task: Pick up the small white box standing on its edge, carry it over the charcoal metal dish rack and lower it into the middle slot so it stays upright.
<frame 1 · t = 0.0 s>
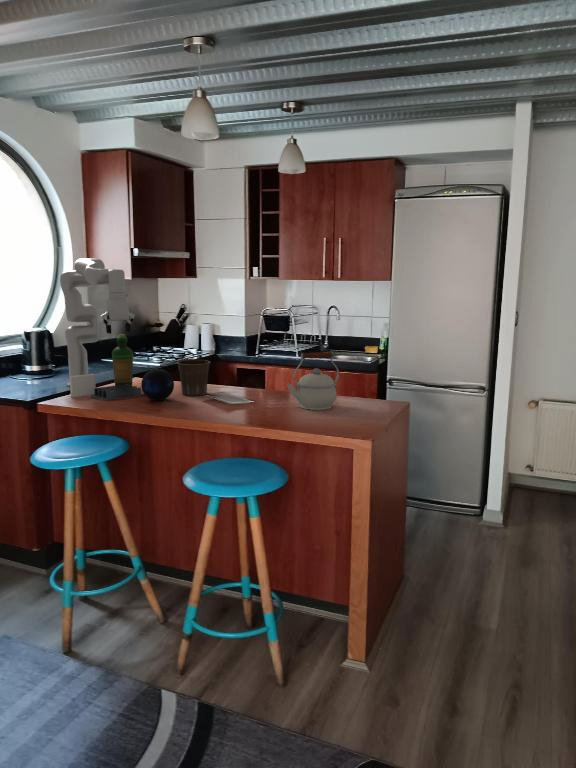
hand: (118, 332, 295), 31 cm above the countertop, tool pointing down, fingers open, 9 cm apart
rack: (117, 395, 305), on the countertop
decorative sphere: (158, 400, 295), on the countertop
plant pot: (194, 394, 312), on the countertop
small white box: (83, 395, 305), on the countertop
kettle: (312, 407, 283), on the countertop
bottle: (123, 388, 325), on the countertop
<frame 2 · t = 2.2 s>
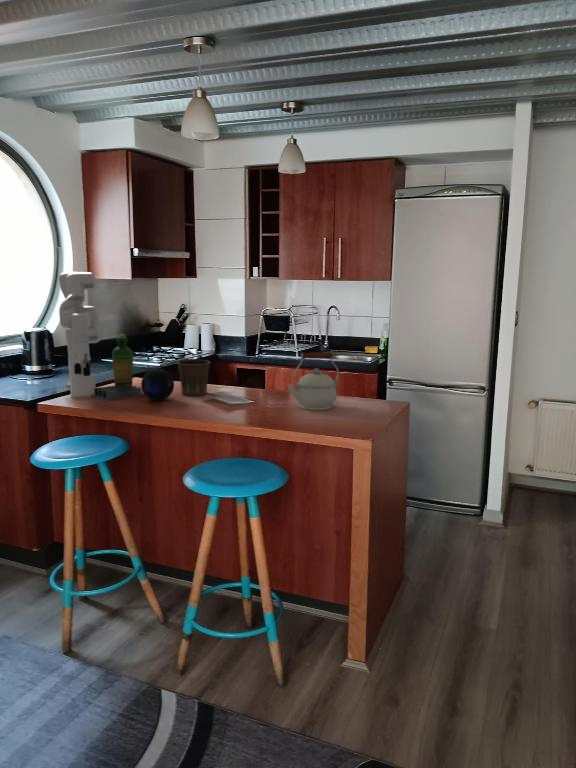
hand: (82, 374, 303), 10 cm above the countertop, tool pointing down, fingers open, 9 cm apart
nothing on the countertop moved.
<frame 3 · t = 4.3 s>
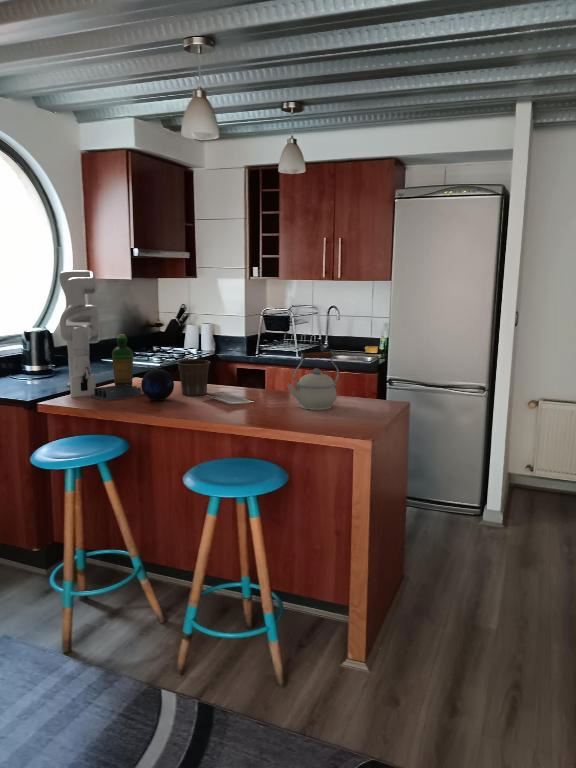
hand: (83, 389, 305), 3 cm above the countertop, tool pointing down, fingers closed on small white box, 1 cm apart
small white box: (83, 395, 305), on the countertop, touching gripper
everything else where it was.
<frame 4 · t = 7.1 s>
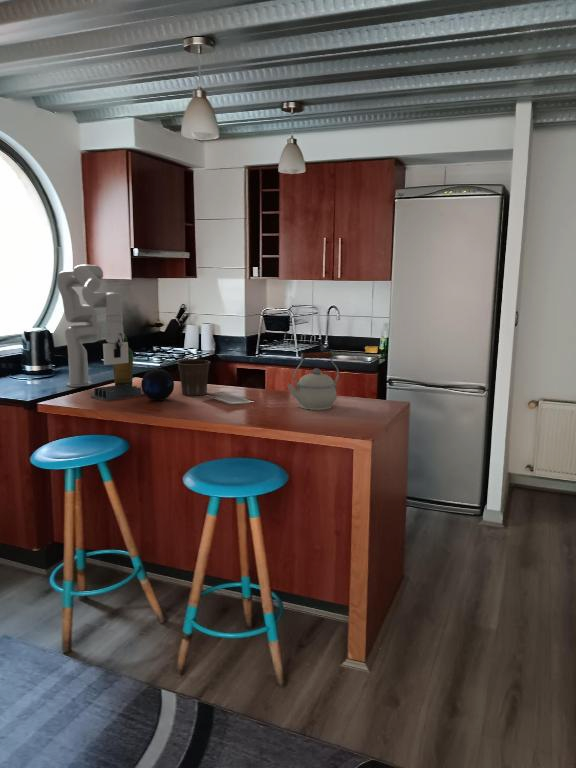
hand: (116, 356, 302), 19 cm above the countertop, tool pointing down, fingers closed on small white box
small white box: (116, 363, 302), point 16 cm above the countertop, touching gripper
everything else where it was.
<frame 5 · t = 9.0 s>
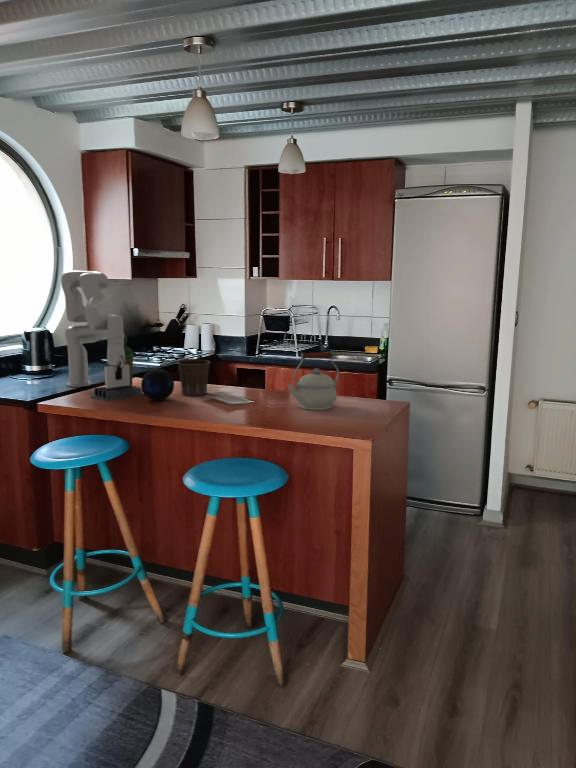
hand: (117, 378, 303), 8 cm above the countertop, tool pointing down, fingers closed on small white box
small white box: (117, 386, 304), point 5 cm above the countertop, touching gripper
everything else where it was.
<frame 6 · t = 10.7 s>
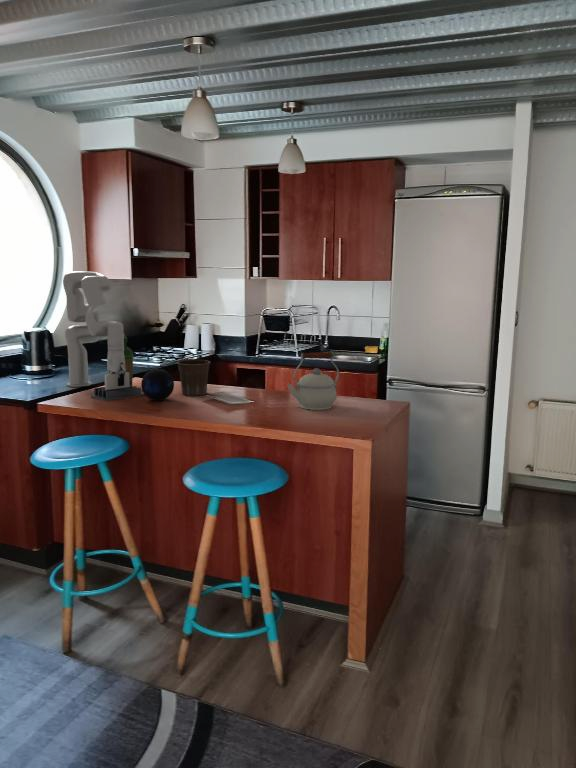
hand: (117, 384, 304), 6 cm above the countertop, tool pointing down, fingers open, 6 cm apart
small white box: (117, 393, 305), point 1 cm above the countertop, touching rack
everything else where it was.
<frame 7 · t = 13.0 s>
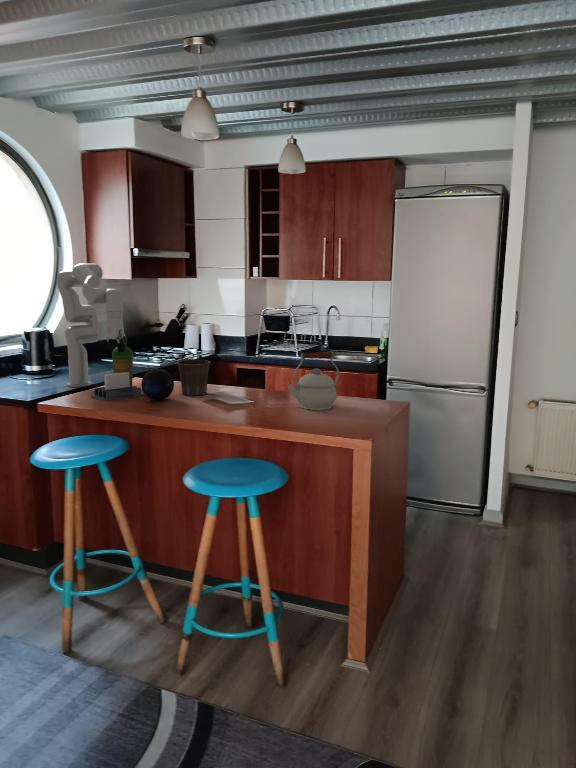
hand: (116, 350, 301), 22 cm above the countertop, tool pointing down, fingers open, 9 cm apart
nothing on the countertop moved.
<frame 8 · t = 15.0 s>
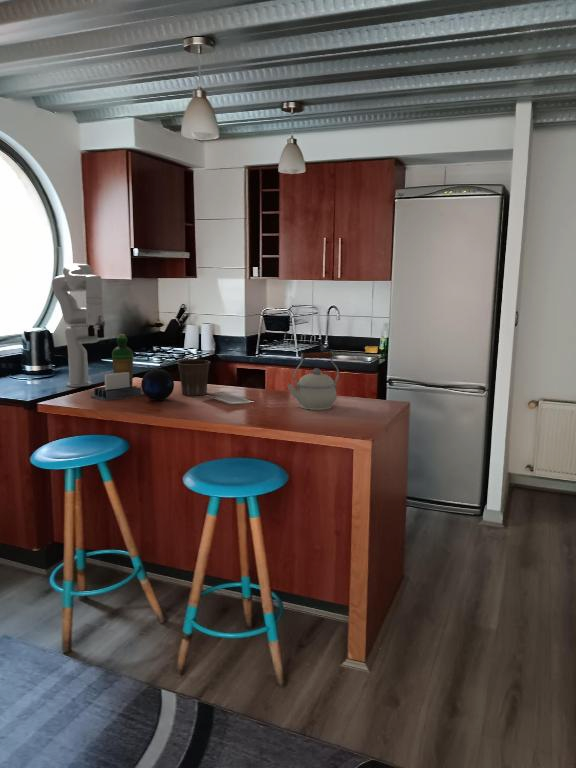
hand: (96, 337, 304), 28 cm above the countertop, tool pointing down, fingers open, 9 cm apart
nothing on the countertop moved.
at the end: small white box inside the target area on the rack (1.0 cm from its centre), point 1.0 cm above the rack's base; small white box tilted 0°; the gripper is holding nothing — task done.
